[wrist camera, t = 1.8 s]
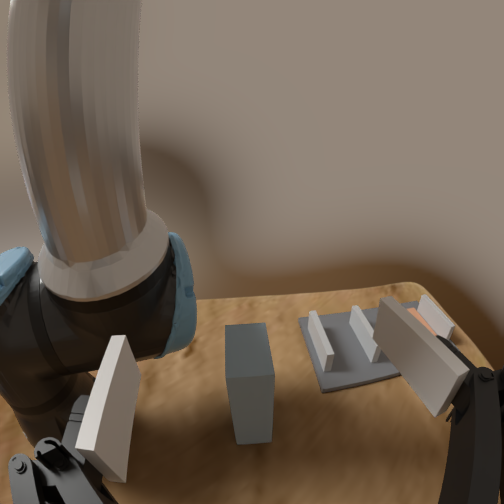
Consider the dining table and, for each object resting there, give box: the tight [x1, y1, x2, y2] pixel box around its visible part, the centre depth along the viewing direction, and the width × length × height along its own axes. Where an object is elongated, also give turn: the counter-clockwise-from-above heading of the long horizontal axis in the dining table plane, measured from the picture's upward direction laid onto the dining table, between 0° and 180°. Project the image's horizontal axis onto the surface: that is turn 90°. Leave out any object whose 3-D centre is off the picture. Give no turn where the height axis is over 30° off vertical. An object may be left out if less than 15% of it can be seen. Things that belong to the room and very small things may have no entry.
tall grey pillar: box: [225, 323, 275, 445], centre depth 27 cm, size 4×7×13 cm, turn 5°
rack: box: [298, 294, 459, 393], centre depth 40 cm, size 25×16×4 cm, turn 94°
